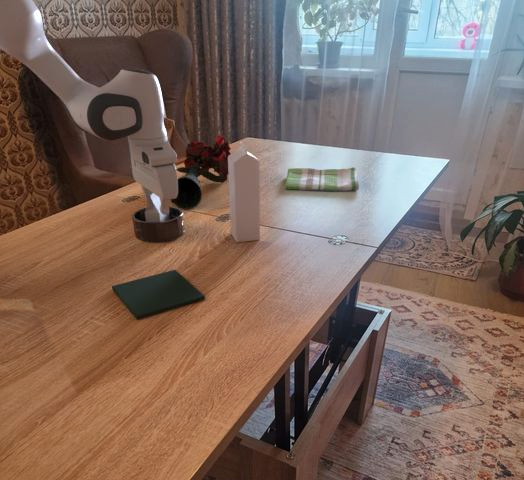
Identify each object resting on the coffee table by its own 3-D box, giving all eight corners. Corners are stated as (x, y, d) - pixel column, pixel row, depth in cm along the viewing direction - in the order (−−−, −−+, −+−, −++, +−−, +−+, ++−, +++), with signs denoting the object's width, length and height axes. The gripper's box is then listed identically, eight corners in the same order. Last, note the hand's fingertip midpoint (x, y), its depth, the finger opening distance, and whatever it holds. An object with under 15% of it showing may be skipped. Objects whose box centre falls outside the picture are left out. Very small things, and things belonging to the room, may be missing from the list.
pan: (145, 246, 116) (142, 226, 113) (128, 230, 124) (124, 211, 121) (192, 235, 121) (190, 216, 118) (172, 221, 130) (170, 202, 127)
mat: (136, 319, 88) (136, 316, 88) (112, 289, 98) (111, 285, 98) (204, 299, 95) (204, 295, 94) (175, 272, 104) (175, 269, 104)
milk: (236, 243, 117) (232, 147, 105) (230, 233, 122) (226, 141, 109) (260, 240, 119) (259, 145, 106) (253, 231, 124) (252, 139, 111)
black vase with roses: (194, 235, 141) (205, 191, 169) (240, 194, 134) (244, 155, 161) (153, 195, 134) (172, 156, 161) (200, 150, 126) (211, 117, 154)
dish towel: (358, 192, 149) (360, 181, 147) (284, 190, 151) (285, 179, 149) (355, 177, 163) (356, 166, 161) (287, 175, 165) (288, 164, 163)
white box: (170, 226, 125) (166, 187, 119) (162, 236, 119) (157, 196, 114) (157, 225, 125) (151, 186, 119) (148, 235, 120) (142, 195, 114)
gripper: (120, 142, 117) (130, 199, 125) (152, 160, 103) (161, 223, 111) (145, 139, 119) (153, 194, 127) (180, 156, 105) (186, 217, 113)
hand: (157, 208), depth 119 cm, fingers open, 8 cm apart
